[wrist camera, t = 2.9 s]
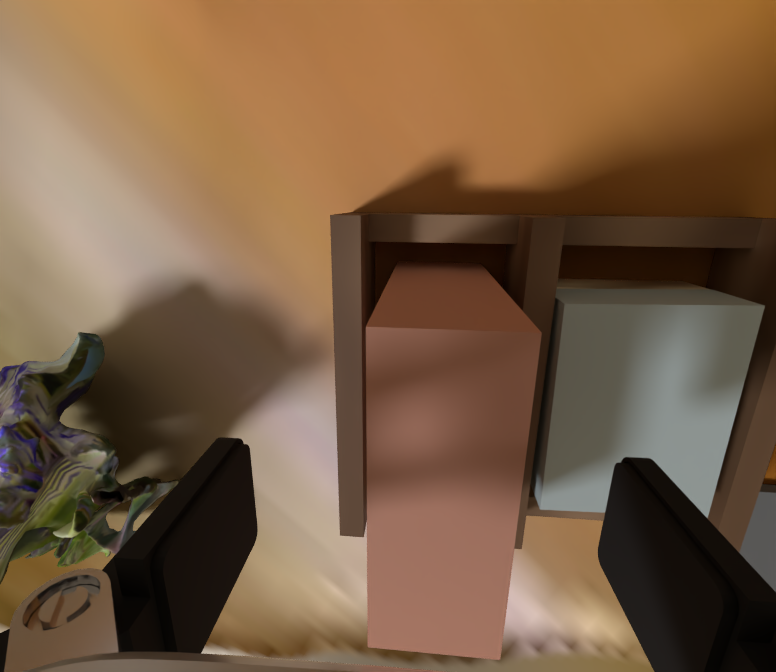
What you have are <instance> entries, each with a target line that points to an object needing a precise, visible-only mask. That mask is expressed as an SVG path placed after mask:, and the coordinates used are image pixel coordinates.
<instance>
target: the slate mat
mask: <svg viewBox="0 0 776 672" xmlns="http://www.w3.org/2000/svg"><path fill="white" fill-rule="evenodd" d="M739 553H740V554H741V555H742V556H743V557H744V558H745V559H746V561H747V562H748V563H749V564H750V565H751V566H752V567H753V568H754V569H755V570H756V571H757V572H758V573H759V575H760V576H761V577H762V578H763V579H764V580H765V581H766V582H767V583H768V584H769V585H770V586H771V588H772V589H773V590H774V591H775V592H776V485H767V484H762V486H761V489H760V492H759V495H758V498H757V501H756V504H755V507H754V510H753V513H752V516H751V519H750V522H749V525H748V528H747V531H746V534H745V537H744V540H743V543H742V546H741V549H740V552H739Z"/></svg>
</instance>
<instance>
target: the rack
mask: <svg viewBox="0 0 776 672" xmlns="http://www.w3.org/2000/svg"><path fill="white" fill-rule="evenodd" d="M330 223H331V255H332V288H333V320H334V353H335V386H336V418H337V451H338V483H339V516H340V535H341V536H354V537H364V532H365V527H366V522H367V438H366V325H367V323H368V321H369V319H370V317H371V315H372V313H373V311H374V309H375V242H428V243H483V244H507V245H506V256H505V266H504V277H503V289H504V290H505V292H506V293H507V294H508V295H509V296H510V297H511V298H512V300H513V301H514V302H515V303H516V304H517V305H518V306H519V308H520V309H521V310H522V311H523V312H524V313H525V314H526V316H527V317H528V318H529V319H530V320H531V321H532V322H533V323H534V325H535V326H536V327H537V328H538V329H539V330H540V331H541V333H542V335H541V343H540V351H539V359H538V367H537V374H536V382H535V390H534V398H533V406H532V414H531V421H530V429H529V437H528V445H527V453H526V461H525V468H524V476H523V484H522V492H521V500H520V508H519V515H518V523H517V531H516V539H515V547H514V549H522V542H523V535H524V527H525V520H526V515H528V516H543V517H558V518H572V519H587V520H601V521H604V516H605V513H600V512H580V511H560V510H540V508H539V505H538V503H537V500H536V497H535V495H534V492H533V489H532V487H531V484H530V483H531V475H532V468H533V460H534V453H535V445H536V438H537V430H538V423H539V416H540V408H541V401H542V393H543V386H544V378H545V371H546V363H547V356H548V348H549V341H550V334H551V326H552V319H553V311H554V304H555V296H556V289H557V281H558V274H559V266H560V259H561V252H562V245H594V246H650V247H705V248H716V250H715V254H714V258H713V262H712V266H711V270H710V274H709V278H708V282H707V287H706V288H707V289H710V290H716V291H719V292H722V293H725V294H729V295H732V296H735V297H738V298H742V299H745V300H748V301H751V302H755V303H758V304H761V305H764V306H765V308H764V311H763V315H762V319H761V322H760V326H759V330H758V334H757V337H756V341H755V345H754V348H753V352H752V356H751V359H750V363H749V367H748V371H747V374H746V378H745V382H744V385H743V389H742V393H741V397H740V400H739V404H738V408H737V411H736V415H735V419H734V422H733V426H732V430H731V434H730V437H729V441H728V445H727V448H726V452H725V456H724V459H723V463H722V467H721V471H720V474H719V478H718V482H717V485H716V489H715V493H714V496H713V500H712V504H711V508H710V511H709V515H708V518H707V519H708V520H709V521H710V522H711V523H712V524H713V525H714V526H715V527H716V528H717V529H718V530H719V531H720V533H721V534H722V535H723V536H724V537H725V538H726V539H727V540H728V541H729V542H730V543H731V544H732V545H733V547H734V548H735V549H736V550H737V551H738V552H740V549H741V546H742V543H743V540H744V537H745V534H746V531H747V528H748V525H749V522H750V519H751V516H752V513H753V510H754V507H755V504H756V501H757V498H758V495H759V492H760V489H761V486H762V483H763V480H764V477H765V474H766V471H767V468H768V465H769V462H770V459H771V456H772V453H773V450H774V447H775V444H776V219H775V218H753V217H678V216H599V215H519V214H439V213H359V212H350V213H343V214H335V215H330Z"/></svg>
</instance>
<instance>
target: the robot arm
mask: <svg viewBox="0 0 776 672" xmlns="http://www.w3.org/2000/svg"><path fill="white" fill-rule="evenodd" d="M256 537H257V518H256V508H255V497H254V487H253V477H252V467H251V457H250V448H249V446H248V445H247V444H243V441H242V439H239V438H218V439H216V440H215V442H214V443H213V444H212V445H211V446H210V447H209V448H208V450H207V451H206V452H205V453H204V454H203V455H202V457H201V458H200V459H199V460H198V461H197V462H196V463H195V465H194V466H193V467H192V468H191V469H190V470H189V471H188V473H187V474H186V475H185V476H184V477H183V478H182V479H181V481H180V482H179V483H178V484H177V485H176V486H175V487H174V489H173V490H172V491H171V492H170V493H169V494H168V495H167V496H166V498H165V499H164V500H163V501H162V502H161V503H160V504H159V506H158V507H157V508H156V509H155V510H154V511H153V512H152V514H151V515H150V516H149V517H148V518H147V519H146V520H145V522H144V523H143V524H142V525H141V526H140V527H139V528H138V530H137V531H136V532H135V533H134V534H133V535H132V537H131V538H130V539H129V540H128V541H127V542H126V543H125V545H124V546H123V547H122V548H121V549H120V550H119V551H118V553H117V554H116V555H115V556H114V557H113V558H112V559H111V561H110V562H109V563H108V564H107V565H106V566H105V567H104V569H103V570H99V569H93V568H87V569H78V570H74V571H71V572H68V573H65V574H62V575H60V576H58V577H56V578H54V579H52V580H49V581H48V582H46V583H45V584H43V585H42V586H40V587H39V588H37V589H36V590H34V591H33V592H32V593H31V594H30V595H29V596H28V597H27V598H26V599H25V600H23V602H22V603H21V604H20V606H19V607H18V608H17V610H16V611H15V613H14V615H13V618H12V621H11V625H10V629H8V630H6V631H4V632H2V633H0V672H445V671H433V670H421V669H408V668H396V667H383V666H371V665H358V664H357V665H356V664H344V663H331V662H318V661H304V660H291V659H278V658H264V657H251V656H235V655H217V654H201V652H202V650H203V648H204V646H205V644H206V642H207V640H208V638H209V636H210V634H211V632H212V630H213V628H214V626H215V624H216V622H217V620H218V618H219V615H220V613H221V611H222V609H223V607H224V605H225V603H226V601H227V599H228V597H229V595H230V593H231V591H232V589H233V587H234V585H235V583H236V581H237V579H238V577H239V574H240V572H241V570H242V568H243V566H244V564H245V562H246V560H247V558H248V556H249V554H250V552H251V550H252V548H253V546H254V544H255V541H256ZM598 558H599V562H600V565H601V567H602V569H603V571H604V573H605V575H606V577H607V579H608V581H609V583H610V585H611V587H612V589H613V591H614V593H615V595H616V597H617V599H618V601H619V603H620V605H621V607H622V609H623V611H624V613H625V615H626V616H627V618H628V620H629V622H630V624H631V626H632V628H633V630H634V632H635V634H636V636H637V638H638V640H639V642H640V644H641V646H642V648H643V650H644V652H645V654H646V656H647V658H648V660H649V662H650V664H651V666H652V668H653V670H654V672H776V592H775V591H774V590H773V589H772V588H771V586H770V585H769V584H768V583H767V582H766V581H765V580H764V579H763V578H762V577H761V576H760V575H759V573H758V572H757V571H756V570H755V569H754V568H753V567H752V566H751V565H750V564H749V563H748V562H747V561H746V559H745V558H744V557H743V556H742V555H741V554H740V553H739V552H738V551H737V550H736V549H735V548H734V547H733V545H732V544H731V543H730V542H729V541H728V540H727V539H726V538H725V537H724V536H723V535H722V534H721V533H720V531H719V530H718V529H717V528H716V527H715V526H714V525H713V524H712V523H711V522H710V521H709V520H708V519H707V517H706V516H705V515H704V514H703V513H702V512H701V511H700V510H699V509H698V508H697V507H696V506H695V505H694V503H693V502H692V501H691V500H690V499H689V498H688V497H687V496H686V495H685V494H684V493H683V492H682V491H681V489H680V488H679V487H678V486H677V485H676V484H675V483H674V482H673V481H672V480H671V479H670V478H669V477H668V475H667V474H666V473H665V472H664V471H663V470H662V469H661V468H660V467H659V466H658V465H657V464H656V463H655V461H653V460H652V459H650V458H638V457H625V458H623V459H622V461H621V463H616V464H615V466H614V470H613V475H612V480H611V485H610V490H609V495H608V501H607V506H606V511H605V516H604V521H603V526H602V531H601V536H600V541H599V546H598Z"/></svg>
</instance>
